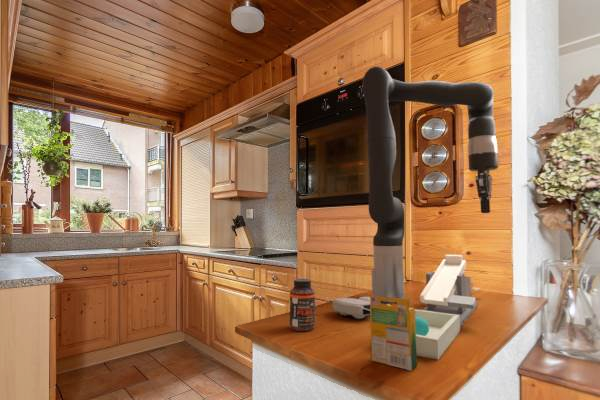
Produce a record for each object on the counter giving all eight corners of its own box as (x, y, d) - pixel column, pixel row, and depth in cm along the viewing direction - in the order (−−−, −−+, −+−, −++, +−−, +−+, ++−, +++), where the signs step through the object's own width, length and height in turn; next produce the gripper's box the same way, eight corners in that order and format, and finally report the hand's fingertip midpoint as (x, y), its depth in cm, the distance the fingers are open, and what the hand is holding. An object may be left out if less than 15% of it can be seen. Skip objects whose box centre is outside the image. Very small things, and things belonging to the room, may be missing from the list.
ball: (409, 339, 73) (404, 326, 72) (413, 324, 76) (409, 311, 74) (428, 343, 71) (424, 329, 69) (432, 327, 74) (428, 314, 72)
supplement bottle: (297, 333, 77) (296, 282, 78) (285, 327, 82) (285, 279, 83) (320, 329, 80) (319, 280, 81) (307, 323, 85) (307, 277, 86)
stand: (410, 322, 85) (409, 279, 86) (437, 301, 107) (436, 267, 108) (458, 329, 79) (456, 282, 79) (477, 305, 101) (475, 269, 101)
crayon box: (417, 365, 59) (415, 296, 60) (411, 371, 57) (409, 299, 58) (378, 356, 64) (376, 292, 64) (371, 361, 61) (369, 294, 62)
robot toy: (359, 309, 103) (324, 314, 93) (359, 293, 103) (324, 297, 93) (395, 317, 94) (360, 324, 84) (395, 300, 94) (360, 304, 84)
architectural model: (459, 296, 116) (458, 274, 117) (480, 299, 111) (479, 276, 111) (454, 297, 114) (453, 275, 114) (475, 301, 109) (474, 277, 109)
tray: (374, 346, 68) (374, 328, 69) (407, 322, 85) (406, 308, 85) (438, 359, 61) (437, 339, 62) (460, 330, 78) (459, 315, 78)
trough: (421, 310, 85) (419, 289, 84) (444, 271, 106) (443, 254, 105) (474, 317, 78) (472, 294, 78) (487, 274, 99) (486, 256, 99)
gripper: (472, 158, 108) (474, 213, 107) (464, 151, 97) (467, 213, 96) (499, 155, 104) (502, 213, 103) (494, 147, 93) (498, 212, 92)
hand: (485, 212), depth 99 cm, fingers closed
